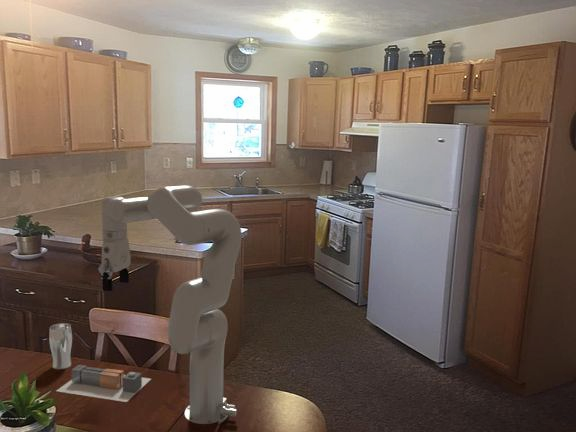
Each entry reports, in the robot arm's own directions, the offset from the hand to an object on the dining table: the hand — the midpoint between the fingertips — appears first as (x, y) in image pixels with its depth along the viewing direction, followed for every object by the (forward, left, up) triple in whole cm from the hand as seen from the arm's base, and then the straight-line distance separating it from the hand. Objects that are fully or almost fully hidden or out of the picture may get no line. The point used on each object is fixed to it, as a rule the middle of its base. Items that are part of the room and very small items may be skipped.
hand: (116, 286), depth 161 cm
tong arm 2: (+1, +9, -29) cm, 30 cm away
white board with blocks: (-2, +10, -30) cm, 32 cm away
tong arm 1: (+1, +11, -29) cm, 31 cm away
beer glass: (+20, +2, -31) cm, 37 cm away
